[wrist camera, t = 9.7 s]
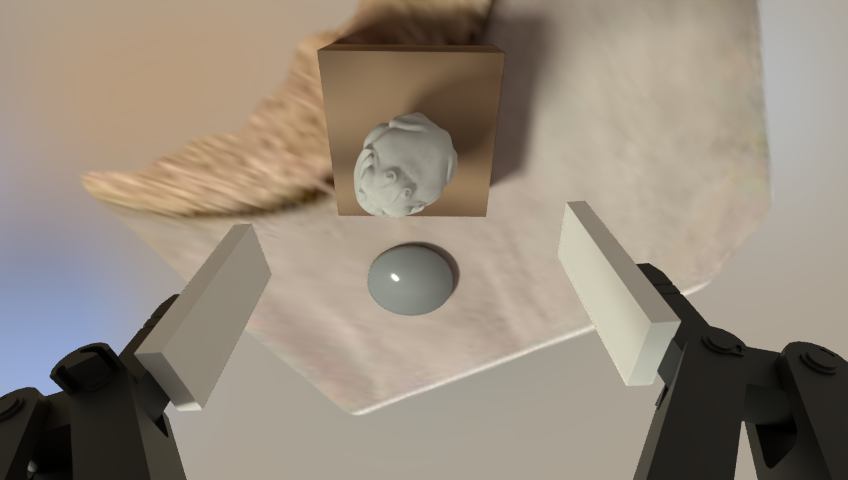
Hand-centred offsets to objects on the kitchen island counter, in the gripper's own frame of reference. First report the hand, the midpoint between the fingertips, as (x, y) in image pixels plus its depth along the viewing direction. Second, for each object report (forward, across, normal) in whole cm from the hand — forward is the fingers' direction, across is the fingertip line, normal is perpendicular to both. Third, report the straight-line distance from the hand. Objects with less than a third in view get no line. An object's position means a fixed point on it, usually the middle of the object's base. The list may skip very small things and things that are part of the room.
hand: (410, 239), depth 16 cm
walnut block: (+18, 0, 0) cm, 18 cm away
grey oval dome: (+17, -2, -17) cm, 24 cm away
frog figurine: (+13, 0, 0) cm, 13 cm away
